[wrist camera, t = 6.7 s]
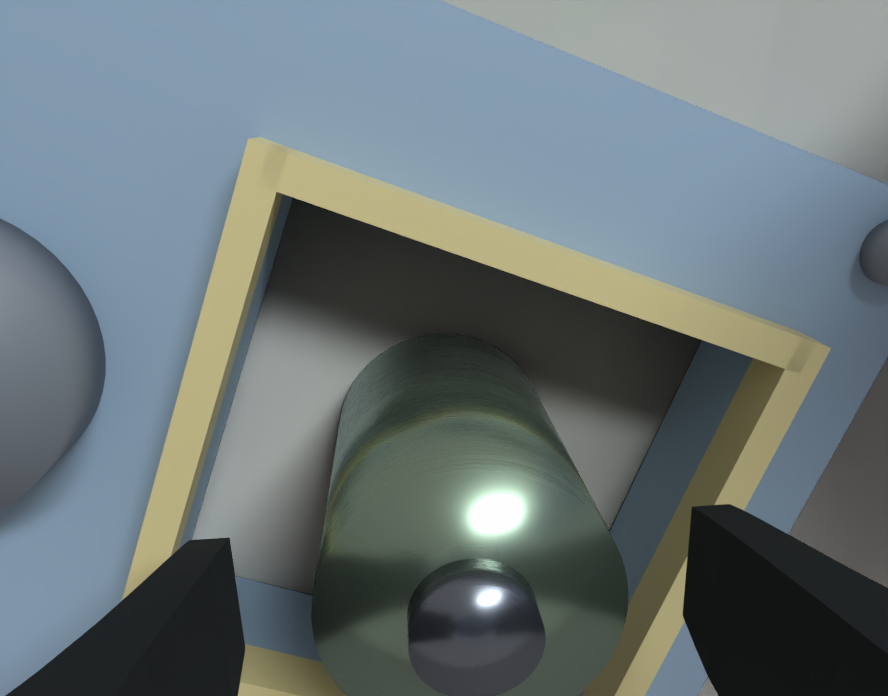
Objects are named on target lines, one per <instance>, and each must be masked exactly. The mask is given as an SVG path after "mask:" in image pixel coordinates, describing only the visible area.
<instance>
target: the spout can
mask: <svg viewBox="0 0 888 696" xmlns="http://www.w3.org/2000/svg"><path fill="white" fill-rule="evenodd" d="M628 595H629V591H628V582H627V574H626V570H625V567H624V563H623V559H622V557H621V554H620V552H619V550H618V548H617V545H616V543H615V541H614V539H613V537H612V536H611V534H610V532H609V530H608V528H607V526H606V524H605V522H604V520H603V518H602V517H601V515H600V513H599V511H598V509H597V507H596V505H595V503H594V501H593V500H592V498H591V496H590V494H589V492H588V490H587V488H586V486H585V484H584V482H583V481H582V479H581V477H580V475H579V473H578V471H577V469H576V467H575V465H574V464H573V462H572V460H571V458H570V456H569V454H568V452H567V450H566V448H565V446H564V445H563V443H562V441H561V439H560V437H559V435H558V433H557V431H556V429H555V428H554V426H553V424H552V422H551V420H550V418H549V416H548V414H547V412H546V410H545V409H544V407H543V405H542V403H541V401H540V399H539V397H538V395H537V393H536V392H535V390H534V388H533V386H532V384H531V382H530V381H529V379H528V378H527V376H526V374H525V373H524V372H523V371H522V369H521V368H520V367H519V366H518V365H517V364H516V363H515V362H514V361H513V360H512V359H511V358H510V357H509V356H507V355H506V354H505V353H503V352H502V351H500V350H499V349H497V348H496V347H494V346H491V345H489V344H487V343H485V342H483V341H480V340H477V339H474V338H471V337H466V336H461V335H451V334H436V335H427V336H422V337H416V338H413V339H410V340H407V341H404V342H402V343H399V344H397V345H395V346H393V347H391V348H389V349H388V350H386V351H385V352H383V353H381V354H380V355H378V356H377V357H376V358H375V359H374V360H372V361H371V362H370V363H369V364H368V365H367V366H366V367H365V368H364V369H363V370H362V371H361V373H360V374H359V375H358V377H357V378H356V379H355V381H354V382H353V384H352V386H351V388H350V390H349V391H348V393H347V395H346V398H345V401H344V404H343V407H342V412H341V417H340V423H339V429H338V436H337V442H336V448H335V455H334V461H333V468H332V474H331V481H330V487H329V494H328V500H327V507H326V513H325V519H324V526H323V532H322V539H321V545H320V552H319V558H318V565H317V571H316V577H315V584H314V590H313V597H312V610H311V621H312V630H313V637H314V640H315V644H316V647H317V651H318V654H319V656H320V658H321V660H322V662H323V665H324V667H325V669H326V670H327V672H328V673H329V675H330V676H331V678H332V679H333V681H334V682H335V684H336V685H337V686H338V687H339V688H340V689H341V690H342V692H343V693H344V694H345V695H346V696H578V695H579V694H581V693H582V692H583V691H584V690H585V689H586V688H587V687H588V686H589V685H590V684H591V683H592V682H593V681H594V680H595V678H596V677H597V676H598V675H599V674H600V673H601V671H602V670H603V668H604V667H605V666H606V664H607V663H608V661H609V660H610V658H611V656H612V654H613V653H614V651H615V649H616V647H617V645H618V643H619V640H620V637H621V634H622V632H623V629H624V626H625V621H626V616H627V611H628Z"/></svg>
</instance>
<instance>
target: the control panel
mask: <svg viewBox="0 0 888 696" xmlns="http://www.w3.org/2000/svg"><path fill="white" fill-rule="evenodd" d="M293 198H296V199H299V200H302V201H305V202H307V203H310V204H313V205H316V206H319V207H322V208H325V209H328V210H330V211H333V212H336V213H339V214H342V215H345V216H348V217H350V218H353V219H356V220H359V221H362V222H365V223H368V224H371V225H373V226H376V227H379V228H382V229H385V230H388V231H391V232H394V233H396V234H399V235H402V236H405V237H408V238H411V239H414V240H416V241H419V242H422V243H425V244H428V245H431V246H434V247H437V248H439V249H442V250H445V251H448V252H451V253H454V254H457V255H460V256H462V257H465V258H468V259H471V260H474V261H477V262H480V263H482V264H485V265H488V266H491V267H494V268H497V269H500V270H503V271H505V272H508V273H511V274H514V275H517V276H520V277H523V278H526V279H528V280H531V281H534V282H537V283H540V284H543V285H546V286H548V287H551V288H554V289H557V290H560V291H563V292H566V293H569V294H571V295H574V296H577V297H580V298H583V299H586V300H589V301H592V302H594V303H597V304H600V305H603V306H606V307H609V308H612V309H614V310H617V311H620V312H623V313H626V314H629V315H632V316H635V317H637V318H640V319H643V320H646V321H649V322H652V323H655V324H658V325H660V326H663V327H666V328H669V329H672V330H675V331H678V332H680V333H683V334H686V335H689V336H692V337H695V338H698V339H701V340H702V341H701V343H700V345H699V347H698V349H697V351H696V354H695V356H694V358H693V360H692V362H691V364H690V366H689V368H688V370H687V372H686V374H685V376H684V378H683V380H682V383H681V385H680V387H679V389H678V391H677V393H676V395H675V397H674V399H673V401H672V403H671V405H670V407H669V410H668V412H667V414H666V416H665V418H664V420H663V422H662V424H661V426H660V428H659V430H658V432H657V434H656V436H655V439H654V441H653V443H652V445H651V447H650V449H649V451H648V453H647V455H646V457H645V459H644V461H643V463H642V466H641V468H640V470H639V472H638V474H637V476H636V478H635V480H634V482H633V484H632V486H631V488H630V490H629V492H628V495H627V497H626V499H625V501H624V503H623V505H622V507H621V509H620V511H619V513H618V515H617V517H616V519H615V522H614V524H613V526H612V528H611V530H610V534H611V536H612V537H613V539H614V541H615V543H616V545H617V548H618V550H619V552H620V554H621V557H622V559H623V563H624V567H625V570H626V574H627V582H628V591H629V595H628V611H627V616H626V621H625V626H624V629H623V632H622V634H621V637H620V640H619V643H618V645H617V647H616V649H615V651H614V653H613V654H612V656H611V658H610V660H609V661H608V663H607V664H606V666H605V667H604V668H603V670H602V671H601V673H600V674H599V675H598V676H597V677H596V678H595V680H594V681H593V682H592V683H591V684H590V685H589V686H588V687H587V688H586V689H585V690H584V691H583V692H582V693H581V694H579V695H578V696H697V695H698V694H699V692H700V690H701V688H702V686H703V685H704V683H705V681H706V679H707V678H708V675H707V673H706V671H705V669H704V666H703V664H702V662H701V659H700V657H699V655H698V652H697V650H696V648H695V645H694V643H693V640H692V638H691V635H690V633H689V630H688V628H687V625H686V623H685V620H684V618H683V615H682V614H683V603H684V591H685V580H686V568H687V557H688V545H689V533H690V522H691V510H692V507H693V506H708V505H723V504H731V505H733V506H735V507H737V508H740V509H742V510H744V511H746V512H748V513H750V514H752V515H754V516H755V517H757V518H759V519H761V520H763V521H765V522H767V523H768V524H770V525H772V526H774V527H776V528H778V529H779V530H781V531H783V532H785V533H787V534H788V533H789V532H790V530H791V528H792V526H793V525H794V523H795V521H796V519H797V517H798V516H799V514H800V512H801V510H802V509H803V507H804V505H805V503H806V501H807V500H808V498H809V496H810V494H811V493H812V491H813V489H814V487H815V485H816V484H817V482H818V480H819V478H820V477H821V475H822V473H823V471H824V469H825V468H826V466H827V464H828V462H829V461H830V459H831V457H832V455H833V453H834V452H835V450H836V448H837V446H838V445H839V443H840V441H841V439H842V437H843V436H844V434H845V432H846V430H847V428H848V427H849V425H850V423H851V421H852V420H853V418H854V416H855V414H856V412H857V411H858V409H859V407H860V405H861V404H862V402H863V400H864V398H865V396H866V395H867V393H868V391H869V389H870V388H871V386H872V384H873V382H874V380H875V379H876V377H877V375H878V373H879V372H880V370H881V368H882V366H883V364H884V363H885V361H886V359H887V357H888V185H887V184H884V183H882V182H880V181H877V180H875V179H872V178H870V177H867V176H865V175H863V174H860V173H858V172H855V171H853V170H850V169H848V168H846V167H843V166H841V165H838V164H836V163H833V162H831V161H829V160H826V159H824V158H821V157H819V156H816V155H814V154H812V153H809V152H807V151H804V150H802V149H800V148H797V147H795V146H792V145H790V144H787V143H785V142H783V141H780V140H778V139H775V138H773V137H770V136H768V135H766V134H763V133H761V132H758V131H756V130H753V129H751V128H749V127H746V126H744V125H741V124H739V123H736V122H734V121H732V120H729V119H727V118H724V117H722V116H720V115H717V114H715V113H712V112H710V111H707V110H705V109H703V108H700V107H698V106H695V105H693V104H690V103H688V102H686V101H683V100H681V99H678V98H676V97H673V96H671V95H669V94H666V93H664V92H661V91H659V90H657V89H654V88H652V87H649V86H647V85H644V84H642V83H640V82H637V81H635V80H632V79H630V78H627V77H625V76H623V75H620V74H618V73H615V72H613V71H610V70H608V69H606V68H603V67H601V66H598V65H596V64H593V63H591V62H589V61H586V60H584V59H581V58H579V57H577V56H574V55H572V54H569V53H567V52H564V51H562V50H560V49H557V48H555V47H552V46H550V45H547V44H545V43H543V42H540V41H538V40H535V39H533V38H530V37H528V36H526V35H523V34H521V33H518V32H516V31H513V30H511V29H509V28H506V27H504V26H501V25H499V24H497V23H494V22H492V21H489V20H487V19H484V18H482V17H480V16H477V15H475V14H472V13H470V12H467V11H465V10H463V9H460V8H458V7H455V6H453V5H450V4H448V3H446V2H443V1H441V0H0V696H5V695H7V694H8V693H10V692H11V691H12V690H14V689H15V688H16V687H18V686H19V685H20V684H22V683H23V682H24V681H26V680H27V679H28V678H30V677H31V676H32V675H34V674H35V673H36V672H38V671H39V670H40V669H41V668H43V667H44V666H45V665H46V664H47V663H49V662H50V661H51V660H52V659H54V658H55V657H56V656H57V655H58V654H60V653H61V652H62V651H63V650H65V649H66V648H67V647H68V646H69V645H71V644H72V643H73V642H74V641H75V640H77V639H78V638H79V637H80V636H82V635H83V634H84V633H85V632H86V631H88V630H89V629H90V628H91V627H93V626H94V625H95V624H96V623H97V622H99V621H100V620H101V619H102V618H103V617H104V616H105V615H106V614H108V613H109V612H110V611H111V610H112V609H113V608H114V607H115V606H116V605H118V604H119V603H120V602H121V601H122V600H123V599H124V598H125V597H127V596H128V595H129V594H130V593H131V592H132V591H133V590H134V589H135V588H137V587H138V586H139V585H140V584H141V583H142V582H143V581H144V580H145V579H146V578H147V577H149V576H150V575H151V574H152V573H153V572H154V571H155V570H156V569H157V568H158V567H159V566H160V565H162V564H163V563H164V562H165V561H166V560H167V559H168V558H169V557H170V556H171V555H173V554H174V553H175V552H176V551H177V550H178V549H179V548H180V547H182V546H183V545H184V544H185V543H186V542H188V541H189V540H191V539H192V536H193V532H194V529H195V526H196V522H197V519H198V516H199V512H200V509H201V505H202V502H203V499H204V495H205V492H206V489H207V485H208V482H209V479H210V475H211V472H212V468H213V465H214V462H215V458H216V455H217V452H218V448H219V445H220V442H221V438H222V435H223V431H224V428H225V425H226V421H227V418H228V415H229V411H230V408H231V405H232V401H233V398H234V394H235V391H236V388H237V384H238V381H239V378H240V374H241V371H242V368H243V364H244V361H245V357H246V354H247V351H248V347H249V344H250V341H251V337H252V334H253V331H254V327H255V324H256V320H257V317H258V314H259V310H260V307H261V304H262V300H263V297H264V293H265V290H266V287H267V283H268V280H269V277H270V273H271V270H272V267H273V263H274V260H275V256H276V253H277V250H278V246H279V243H280V240H281V236H282V233H283V230H284V226H285V223H286V219H287V216H288V213H289V209H290V206H291V203H292V199H293ZM235 580H236V586H237V593H238V600H239V607H240V614H241V621H242V628H243V635H244V641H245V655H244V661H243V667H242V673H241V679H240V685H239V691H238V696H346V695H345V694H344V693H343V692H342V690H341V689H340V688H339V687H338V686H337V685H336V684H335V682H334V681H333V679H332V678H331V676H330V675H329V673H328V672H327V670H326V669H325V667H324V665H323V662H322V660H321V658H320V656H319V654H318V651H317V647H316V644H315V640H314V637H313V630H312V621H311V610H312V597H313V596H312V595H308V594H304V593H300V592H296V591H292V590H288V589H284V588H280V587H276V586H272V585H268V584H264V583H260V582H256V581H252V580H248V579H244V578H240V577H236V576H235Z"/></svg>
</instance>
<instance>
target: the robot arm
mask: <svg viewBox="0 0 888 696" xmlns="http://www.w3.org/2000/svg"><path fill="white" fill-rule="evenodd" d="M682 615H683V618H684V620H685V623H686V625H687V628H688V630H689V633H690V635H691V638H692V640H693V643H694V645H695V648H696V650H697V652H698V655H699V657H700V659H701V662H702V664H703V666H704V669H705V671H706V673H707V675H708V677H709V679H710V681H711V683H712V684H713V686H714V688H715V690H716V692H717V693H718V695H719V696H888V588H887V587H884V586H883V585H881V584H879V583H877V582H875V581H873V580H871V579H869V578H867V577H865V576H863V575H861V574H859V573H858V572H856V571H854V570H852V569H850V568H848V567H846V566H844V565H843V564H841V563H839V562H837V561H835V560H833V559H832V558H830V557H828V556H826V555H824V554H822V553H821V552H819V551H817V550H815V549H813V548H812V547H810V546H808V545H806V544H804V543H803V542H801V541H799V540H797V539H795V538H794V537H792V536H790V535H788V534H787V533H785V532H783V531H781V530H779V529H778V528H776V527H774V526H772V525H770V524H768V523H767V522H765V521H763V520H761V519H759V518H757V517H755V516H754V515H752V514H750V513H748V512H746V511H744V510H742V509H740V508H737V507H735V506H733V505H731V504H723V505H708V506H693V507H692V510H691V522H690V533H689V545H688V557H687V568H686V580H685V591H684V603H683V614H682ZM244 655H245V641H244V635H243V628H242V621H241V614H240V607H239V600H238V593H237V586H236V580H235V573H234V566H233V559H232V552H231V545H230V538H218V539H204V540H189V541H188V542H186V543H185V544H184V545H183V546H182V547H180V548H179V549H178V550H177V551H176V552H175V553H174V554H173V555H171V556H170V557H169V558H168V559H167V560H166V561H165V562H164V563H163V564H162V565H160V566H159V567H158V568H157V569H156V570H155V571H154V572H153V573H152V574H151V575H150V576H149V577H147V578H146V579H145V580H144V581H143V582H142V583H141V584H140V585H139V586H138V587H137V588H135V589H134V590H133V591H132V592H131V593H130V594H129V595H128V596H127V597H125V598H124V599H123V600H122V601H121V602H120V603H119V604H118V605H116V606H115V607H114V608H113V609H112V610H111V611H110V612H109V613H108V614H106V615H105V616H104V617H103V618H102V619H101V620H100V621H99V622H97V623H96V624H95V625H94V626H93V627H91V628H90V629H89V630H88V631H86V632H85V633H84V634H83V635H82V636H80V637H79V638H78V639H77V640H75V641H74V642H73V643H72V644H71V645H69V646H68V647H67V648H66V649H65V650H63V651H62V652H61V653H60V654H58V655H57V656H56V657H55V658H54V659H52V660H51V661H50V662H49V663H47V664H46V665H45V666H44V667H43V668H41V669H40V670H39V671H38V672H36V673H35V674H34V675H32V676H31V677H30V678H28V679H27V680H26V681H24V682H23V683H22V684H20V685H19V686H18V687H16V688H15V689H14V690H12V691H11V692H10V693H8V694H7V695H5V696H238V691H239V685H240V679H241V673H242V667H243V661H244Z"/></svg>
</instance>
